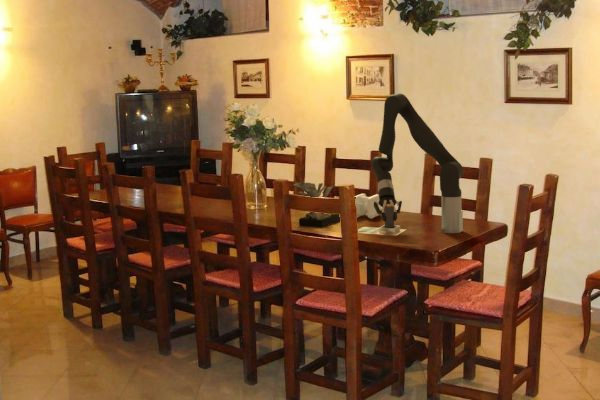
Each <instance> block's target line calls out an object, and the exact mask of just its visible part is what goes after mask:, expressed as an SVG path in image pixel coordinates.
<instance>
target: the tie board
mask: <svg viewBox="0 0 600 400" xmlns="http://www.w3.org/2000/svg"><path fill="white" fill-rule="evenodd" d="M357 230H358V233H357V234H364V235H365V234H368V235H383V236H395V237H396V236H398V235H399V236H400V234H401V233H403V232H405V231H407V229H406V228H405V229H403V228H401V226H400V225H397V224H396V225H395V224H394V228H385V224H383V225H381V226H380V227H373V226H371V227H370V226H362V227H360V228H359V229H357Z"/></svg>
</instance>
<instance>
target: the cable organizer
mask: <svg viewBox="0 0 600 400" xmlns="http://www.w3.org/2000/svg"><path fill="white" fill-rule="evenodd" d="M354 197H356V199H355V201H356V208H357V218H356V219H358V218H360V217H362V216H364V215H365V217H366V216H367V218H368V219H370V220H372V219H374V218H376V217H378V216H380V214H377V212H376V210H375V208H374V202H379V194H377V193H376V194H374V195H371V196H367V194H366V193H360V194H357V195H355V196H354ZM378 207H379V209H380V210H381V211H382V207H381V206H380V205H379V206H378Z"/></svg>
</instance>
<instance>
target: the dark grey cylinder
mask: <svg viewBox="0 0 600 400" xmlns="http://www.w3.org/2000/svg"><path fill="white" fill-rule="evenodd" d="M384 210H385V212H384V213H385V219H386V220H385V222H384V225H385V228H394V225H395V221H394V206H392V204H386V206H385V207H384Z"/></svg>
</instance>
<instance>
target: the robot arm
mask: <svg viewBox="0 0 600 400" xmlns="http://www.w3.org/2000/svg"><path fill="white" fill-rule="evenodd" d="M383 104H384V105H383V107H384V109H383V119H382V120H383V123H382V131H381V135H380V136H381V137H380V142H379V144H378V152H379V153H380V154H383V155H385V156H386V157H383V156H375V157H373V159H371V160H372V161H371V169H372V171H373V172H374V174H375V177H376V181H377V192H378V194H379V202H374V208H375V210H376V212H377V214H379V215H380V216H381V220H382V221H383V222H384V223H385V220H386V219H385V210H384V207H385V206H386V204H392V206H394V222H396V221H397V220H398V215H400V214H401V213H400V212H401V208H402V206H403V205H402V203H403V201H402V200H399V201H397V199H396V197H395V189H394V188H395V187H394V184H393V179H392V174H391V173H390V172H391V171H392V170H393V168H394V158H393V156H394V155H393V154H394V147H395V142H396V120H397V117H398V115H400V117H402V119H403V120H404V121H405V122H406V124H407V127H408V129H409V134H410V135H411V137H412V139H413V141H415V143H416V144H417V146H418V147H419V148H420V149H421V150H422V151H423V152H424V153H426V154H427V155H429V156H430V157H432V159H434V160H435V161H436V162H437V163H438V166H440V170H439V188H440V192H441V233H445V234H461V232H463V227H464V225H463V224H464V222H463V219H464V216H463V215H464V214H463V212H464V211H463V210H462V189H461V187H460V179H461V178H462V177H463V175H464V167H463V166H462V164H461V163H460V162H459V161H458V160H457V158H455V157H454V156H453V155H452V154H451V153H450V152H449V151H448V149H447V148H446V147H445V146H444V144H443V143H442V141H440V140H441V139H439V138H438V137H437V135H436V134H435V132H433V130H432V129H431V128H430V127H429V126H428V124H427V123H426V122H425V121H424V120H423V118H422V117H421V116H420V115H419V113H418V112H417V110H416V109H415V108H414V106H413V105H412V103H411V102H410V99H408V97H407V96H406V95H405V94H403V93H398V92H397V93H394V94H390V95H388V96H387V97H386V99H385V100H384V103H383ZM379 205H380V206H381V210H380V209H379V207H378V206H379ZM396 205H397V209H396Z"/></svg>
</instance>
